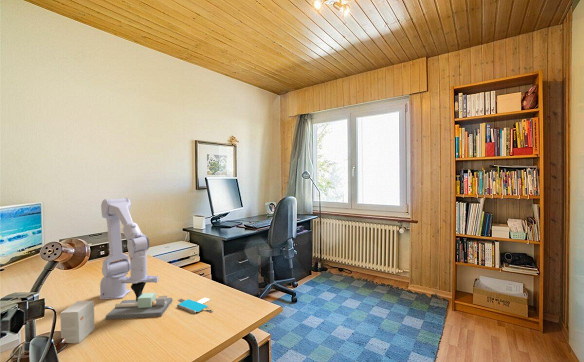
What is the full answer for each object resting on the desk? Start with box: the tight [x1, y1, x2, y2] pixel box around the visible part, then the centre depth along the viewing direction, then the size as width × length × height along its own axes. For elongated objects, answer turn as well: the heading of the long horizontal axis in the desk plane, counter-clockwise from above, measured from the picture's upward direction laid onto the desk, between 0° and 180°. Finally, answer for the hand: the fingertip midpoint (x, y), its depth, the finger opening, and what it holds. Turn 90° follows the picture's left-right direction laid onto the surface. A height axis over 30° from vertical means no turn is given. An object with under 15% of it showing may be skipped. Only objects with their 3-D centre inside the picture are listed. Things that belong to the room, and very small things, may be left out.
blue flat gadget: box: [176, 297, 213, 315], centre depth 110 cm, size 20×12×2 cm, turn 60°
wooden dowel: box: [114, 301, 166, 308], centre depth 106 cm, size 19×2×2 cm, turn 96°
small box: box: [59, 300, 96, 344], centre depth 89 cm, size 8×6×10 cm
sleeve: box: [138, 292, 157, 308], centre depth 106 cm, size 5×4×4 cm
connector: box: [156, 295, 168, 307], centre depth 107 cm, size 3×3×3 cm
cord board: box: [105, 297, 173, 320], centre depth 106 cm, size 20×12×2 cm, turn 96°
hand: (139, 300), depth 106 cm, fingers closed, pressing on sleeve
